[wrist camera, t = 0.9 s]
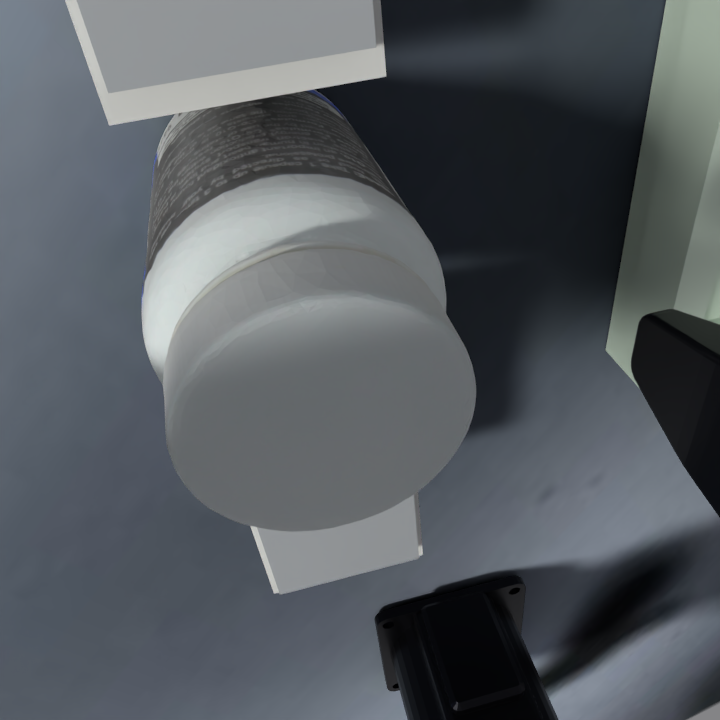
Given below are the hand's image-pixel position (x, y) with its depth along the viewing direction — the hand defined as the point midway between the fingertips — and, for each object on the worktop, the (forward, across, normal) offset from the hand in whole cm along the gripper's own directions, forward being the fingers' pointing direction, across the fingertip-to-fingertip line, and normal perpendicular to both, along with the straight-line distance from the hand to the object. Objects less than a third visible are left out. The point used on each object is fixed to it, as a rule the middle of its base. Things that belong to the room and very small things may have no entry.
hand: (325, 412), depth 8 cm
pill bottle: (+8, 0, 0) cm, 8 cm away
